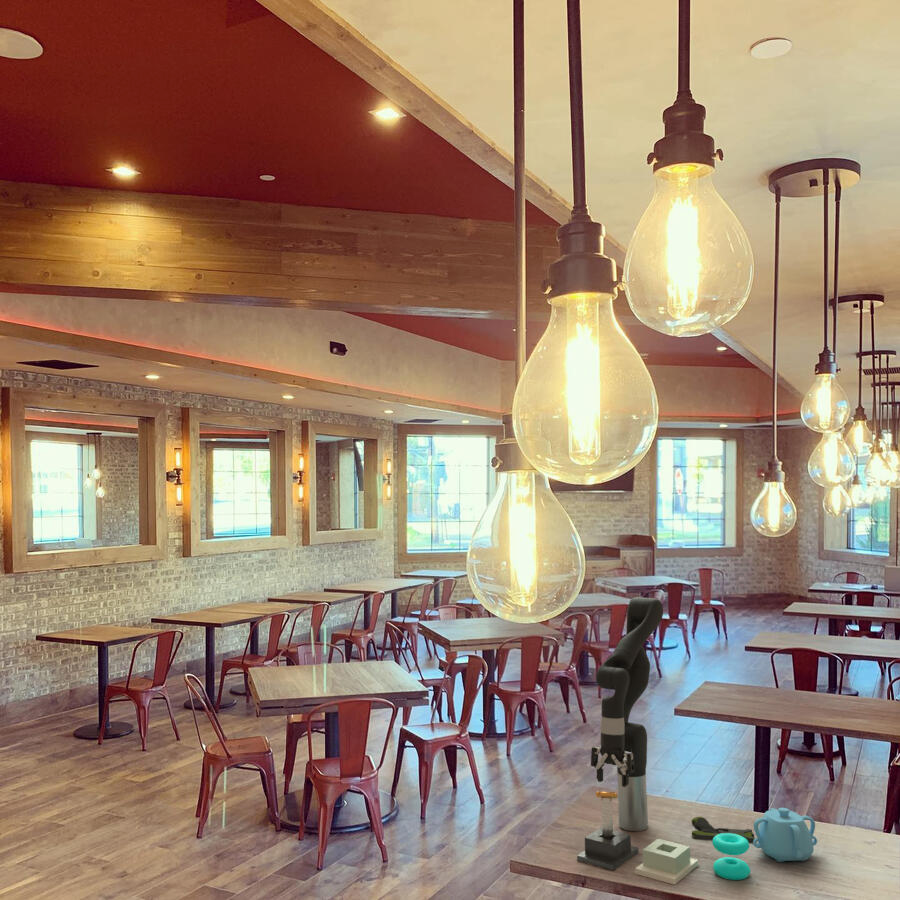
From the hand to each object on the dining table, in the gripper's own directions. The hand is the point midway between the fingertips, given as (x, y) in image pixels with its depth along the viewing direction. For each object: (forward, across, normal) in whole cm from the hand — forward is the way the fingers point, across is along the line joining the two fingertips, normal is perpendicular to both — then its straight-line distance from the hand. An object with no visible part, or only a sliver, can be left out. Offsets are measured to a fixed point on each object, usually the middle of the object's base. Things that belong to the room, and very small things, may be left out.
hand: (612, 783), depth 275 cm
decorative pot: (+16, -47, -20) cm, 54 cm away
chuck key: (+16, -5, +12) cm, 21 cm away
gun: (+16, -25, -26) cm, 40 cm away
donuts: (+18, -39, +1) cm, 43 cm away
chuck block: (+18, -5, +12) cm, 22 cm away
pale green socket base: (+18, -23, +10) cm, 31 cm away
